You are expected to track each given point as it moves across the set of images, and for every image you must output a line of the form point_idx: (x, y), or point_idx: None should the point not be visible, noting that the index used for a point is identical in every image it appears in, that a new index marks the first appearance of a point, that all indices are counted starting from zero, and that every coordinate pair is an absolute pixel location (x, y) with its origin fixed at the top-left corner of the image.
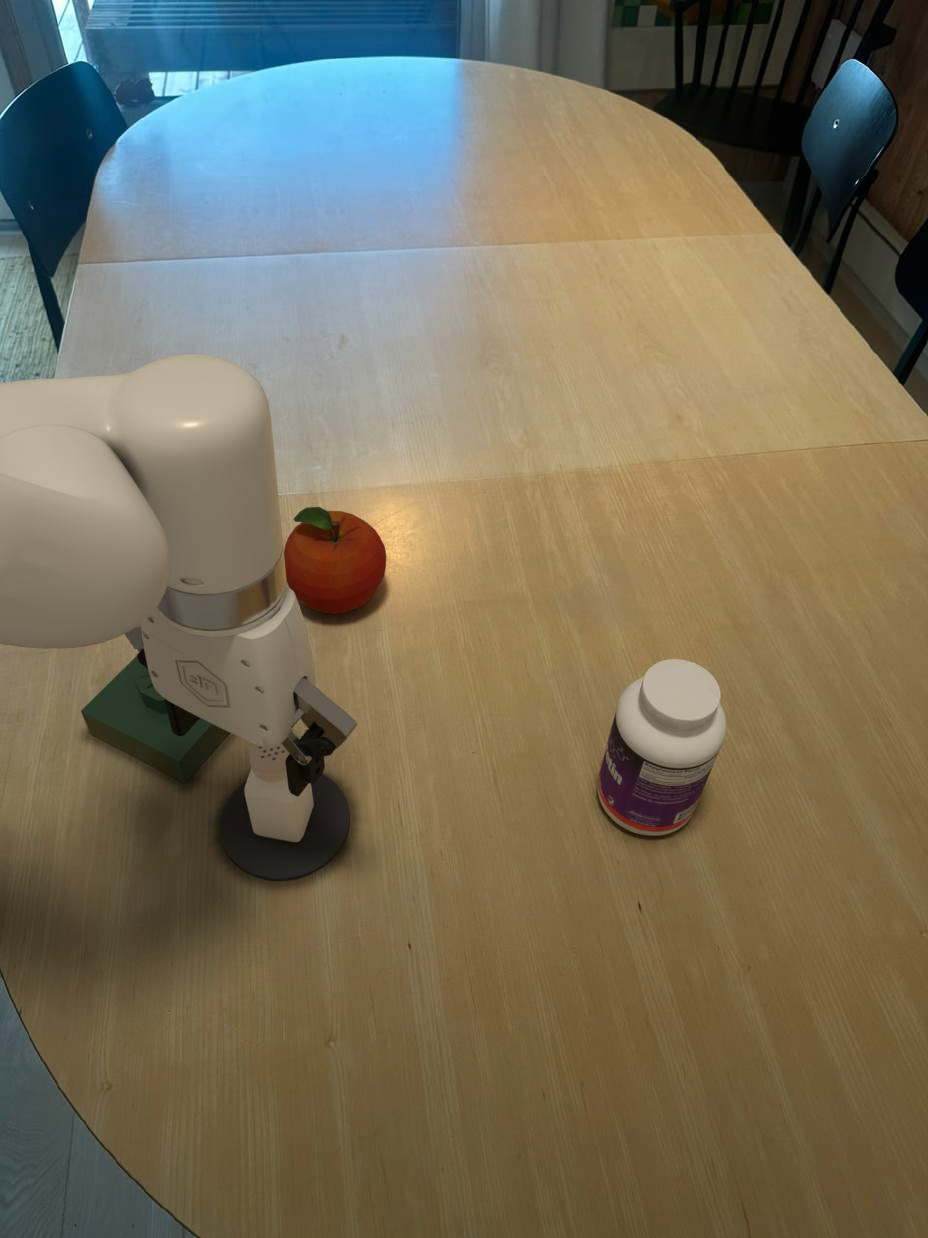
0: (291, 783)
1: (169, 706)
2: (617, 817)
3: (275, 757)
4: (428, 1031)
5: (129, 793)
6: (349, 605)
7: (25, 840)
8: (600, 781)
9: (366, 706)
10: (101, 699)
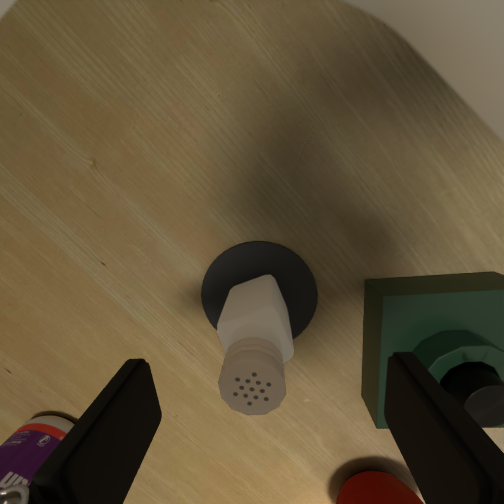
0: (110, 389)
1: (485, 458)
2: (45, 425)
3: (237, 382)
4: (44, 216)
5: (409, 243)
6: (345, 499)
7: (476, 141)
8: None
9: (274, 412)
10: None
